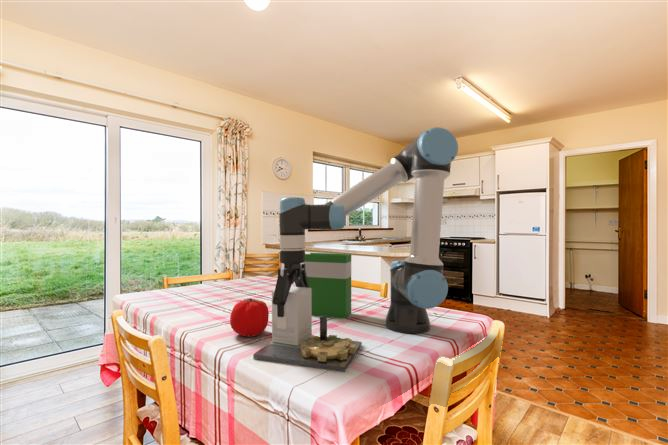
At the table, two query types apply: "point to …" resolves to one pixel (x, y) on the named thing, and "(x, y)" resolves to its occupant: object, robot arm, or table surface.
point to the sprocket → (327, 345)
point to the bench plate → (295, 357)
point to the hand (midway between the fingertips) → (292, 321)
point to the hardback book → (329, 283)
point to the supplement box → (294, 317)
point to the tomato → (249, 317)
